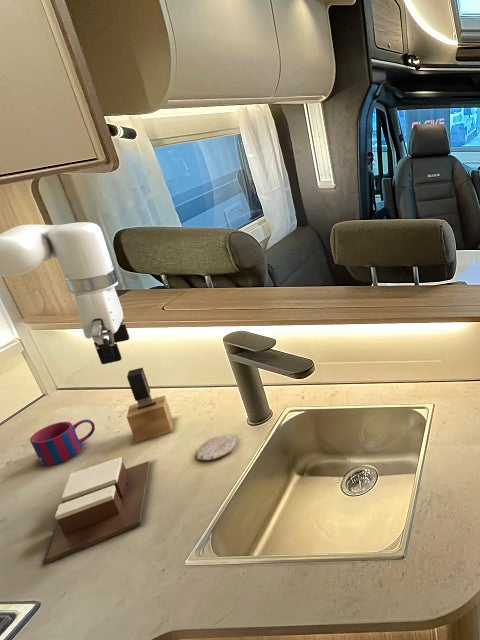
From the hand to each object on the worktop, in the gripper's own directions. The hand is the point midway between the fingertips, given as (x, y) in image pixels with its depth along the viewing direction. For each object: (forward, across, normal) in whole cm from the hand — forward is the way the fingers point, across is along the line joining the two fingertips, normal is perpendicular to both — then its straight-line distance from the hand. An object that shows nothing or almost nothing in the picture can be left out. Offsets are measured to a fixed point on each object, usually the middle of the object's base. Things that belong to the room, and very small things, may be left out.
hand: (116, 351), depth 92 cm
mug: (+27, -7, -15) cm, 32 cm away
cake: (+26, +13, -6) cm, 30 cm away
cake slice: (+26, +20, -6) cm, 33 cm away
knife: (+26, -5, +1) cm, 26 cm away
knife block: (+27, -5, +1) cm, 27 cm away
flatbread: (+27, +11, +14) cm, 32 cm away
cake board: (+27, +17, -5) cm, 32 cm away
